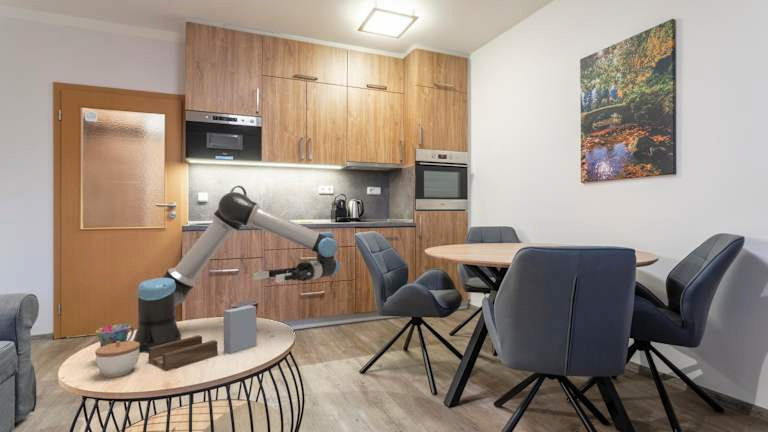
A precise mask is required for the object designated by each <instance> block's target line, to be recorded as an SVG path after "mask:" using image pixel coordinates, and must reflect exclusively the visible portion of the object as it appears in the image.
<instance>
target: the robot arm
mask: <svg viewBox="0 0 768 432" xmlns="http://www.w3.org/2000/svg"><path fill="white" fill-rule="evenodd" d="M242 226H246V227H251V226H253V227H255V228H257V229H259V230H262V231H265V232H267V233H269V234H271V235H274V236H276V237H279V238H280V239H283V240H285V241H288V242H291V243H293V244H295V245H298V246H300V247H301V248H302V247H303V248H305V249H307V250H309V251H312V252H314V253H316V260H311V261H303V262H299V263H298V264H297V265H296V267H291V268H290V267H287V268H279V269H266V270H264V271H257V272H253V274H252V276H253V281H257V280H258V281H259V280H264V279H267V280H269V279H270V278H275V284H278V283H279V284H280V283H285V282H286V283H287V282H291V281H301V282H305V281H310V280H313V281H315V280H316V279H320V278H321V279H322V278H328V277H331V276H335V275H337V274H338V273H339V272H340V268H341V267H340V264H339V260H338V259H336V258H335V254H336V253H337V252H338V243H337V241H336V240H335V237H334V233H333V231H319V232H318V231H315V230H313V229H311V228H308V227H305V226H303V225H301V224H299V223H296V222H294V221H292V220H290V219H288V218H285V217H283V216H280V215H278V214H276V213H274V212H272V211H269V210H267V209H264V208H262V207H260V204H259V203H257V202H254V201H253V200H251V199H250V198H249V197H248V196H246V195H245V194H244V193H243V194H242V193H240V192H236V191H233V192H227V193H225V194H224V195H223V196H222V197H221V198H220V200H219V203H218V208H217V210H216V211H215V212H214V213H213V220H212V222H211V223H210V224H209V225H208V227H207V228H206V229H205V230H204V232H203V233H202V234H201V235H200V237H199V238H198V239H197V240H196V241H195V243H194V244H193V245H192V246H191V247H190V249H189V250H188V251H187V253H185V255H184V256H183V258H181V260H180V261H179V262H178V264H177V265H176V266H175V267H172V268H168V269H167V270H166V272H165V273H164V274H163V276H162V277H157V278H156V277H155V278H151V279H146V280H143V281H141V283H140V284H139V285H138V288H137V294H136V295H137V313H138V314H137V323H138V325H137V327H136V328H137V330H136V331H135V335H134V338H133V340H132V341H135V342H139V343H140V347H139V353H140V352H141V353H149V348H150V347H154V346H158V345H162V344H166V343H169V342H173V341H177V340H181V339H182V335H181V332H180V330H179V327H178V324H177V319H176V314H177V313H176V307H177V306H179V305H180V304H182V303H183V302H184V301H185V300H186V299H187V297H188V296H189V293H190V292H191V290H192V289H193V288H194V287H195V285H196V283H195V279H196V278H197V277H198V276H199V274H200V273H201V272H202V271H203V270H204V268H205V267H206V265H207V264H208V263H209V262H210V260H211V259H212V258H213V257H214V256H215V254H216V253H217V252H218V250H220V248H221V247H222V246H223V245H224V243H225V242H226V240H227V239H228V238H229V237H230V236H231V234H232V233H235V232H239V231H240V229H241V228H242Z"/></svg>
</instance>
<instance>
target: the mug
mask: <svg viewBox="0 0 768 432" xmlns="http://www.w3.org/2000/svg"><path fill="white" fill-rule="evenodd" d="M130 330H131V333H130ZM134 332H135V330H134V328H133V326H132V325H130V324H127V323H125V324H122V323H121V324H114V325H108V326H103V327H100V328H98V329H96V330H95V334H96V335H97V337H98V340H99V344H100V347H102V346H105V345H108V344H112V343H116V341H120V342H125V341H131V339H132V338H133V335H134ZM129 333H130V335H129ZM128 336H129V337H128Z"/></svg>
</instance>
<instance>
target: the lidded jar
mask: <svg viewBox="0 0 768 432" xmlns="http://www.w3.org/2000/svg"><path fill="white" fill-rule="evenodd" d="M139 347H140V343H139V342H135V341H133V340H130V341H125V342H120V341H116V343H112V344H108V345H105V346H102V347H101V346H100V347H98V348H96V349H95V362H96V366H97V369H98V370H99V372H100V373H101V374H103V375H105V377H106V378H118V377H122V376H125V375H128V374H130V372H131V371H132V370H133V369H134V368H135V366H136V364H137V363H138V360H139V357H140V352H139Z"/></svg>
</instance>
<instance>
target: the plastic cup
mask: <svg viewBox="0 0 768 432" xmlns="http://www.w3.org/2000/svg"><path fill="white" fill-rule="evenodd" d="M259 303H260V300H259V299H248V300H242V301H237V302H235V303H231V305H230V306H231V307H232V308H231V309H234V308H239V307H243V306H248V305H251V306H256V316H257V313H258V309H259Z"/></svg>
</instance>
